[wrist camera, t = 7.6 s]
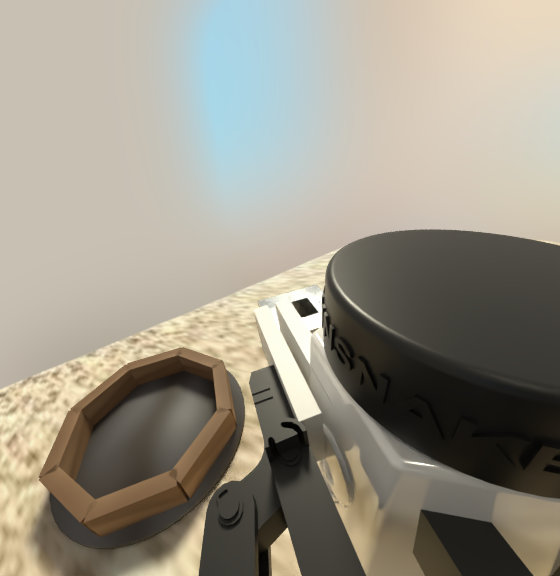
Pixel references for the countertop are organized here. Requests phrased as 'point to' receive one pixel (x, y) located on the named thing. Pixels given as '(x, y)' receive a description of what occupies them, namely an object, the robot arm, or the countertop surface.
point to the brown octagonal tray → (143, 448)
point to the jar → (441, 390)
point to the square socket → (300, 305)
